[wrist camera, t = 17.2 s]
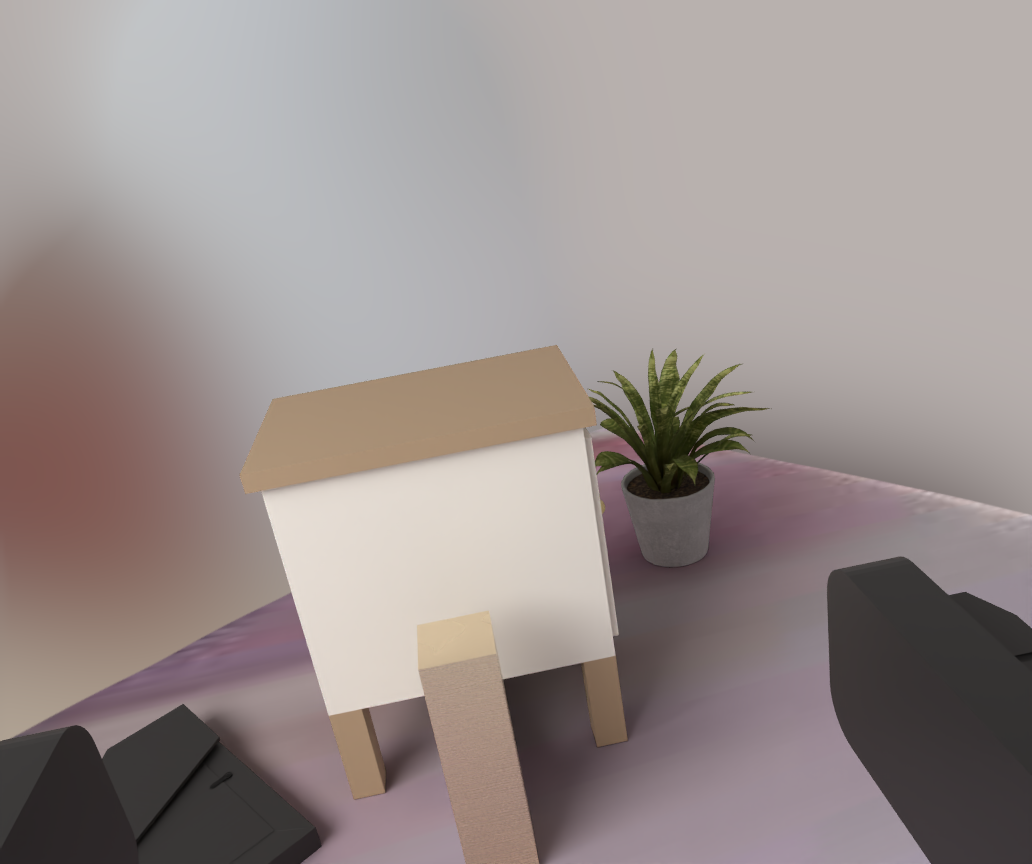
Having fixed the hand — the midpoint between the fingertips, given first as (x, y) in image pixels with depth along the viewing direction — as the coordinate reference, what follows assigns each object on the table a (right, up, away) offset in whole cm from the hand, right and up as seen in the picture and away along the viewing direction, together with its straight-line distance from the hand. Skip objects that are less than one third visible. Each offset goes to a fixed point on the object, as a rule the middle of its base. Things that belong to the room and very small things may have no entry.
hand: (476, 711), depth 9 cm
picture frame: (-23, -23, +37) cm, 49 cm away
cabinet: (-2, -15, +45) cm, 48 cm away
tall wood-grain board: (-1, -15, +43) cm, 46 cm away
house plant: (+12, -7, +59) cm, 60 cm away
